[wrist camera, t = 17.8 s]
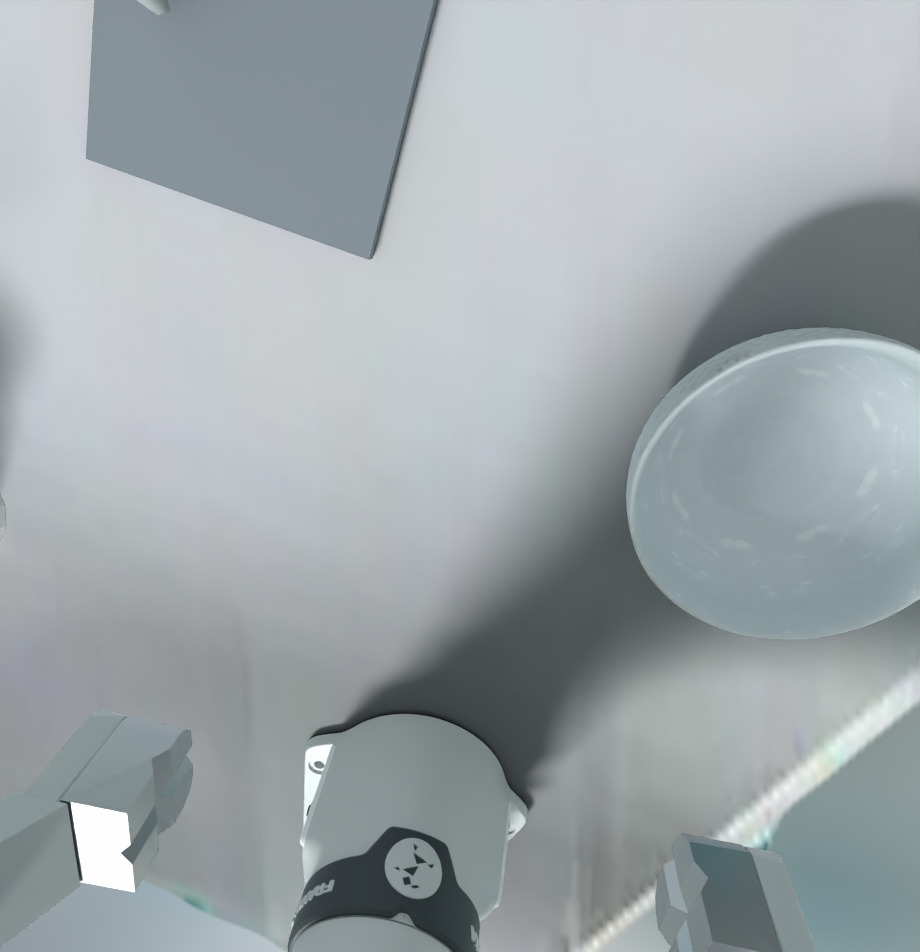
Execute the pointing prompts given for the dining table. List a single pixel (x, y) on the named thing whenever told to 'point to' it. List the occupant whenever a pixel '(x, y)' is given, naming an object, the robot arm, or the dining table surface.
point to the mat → (261, 105)
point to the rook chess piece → (156, 5)
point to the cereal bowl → (785, 485)
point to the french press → (2, 517)
